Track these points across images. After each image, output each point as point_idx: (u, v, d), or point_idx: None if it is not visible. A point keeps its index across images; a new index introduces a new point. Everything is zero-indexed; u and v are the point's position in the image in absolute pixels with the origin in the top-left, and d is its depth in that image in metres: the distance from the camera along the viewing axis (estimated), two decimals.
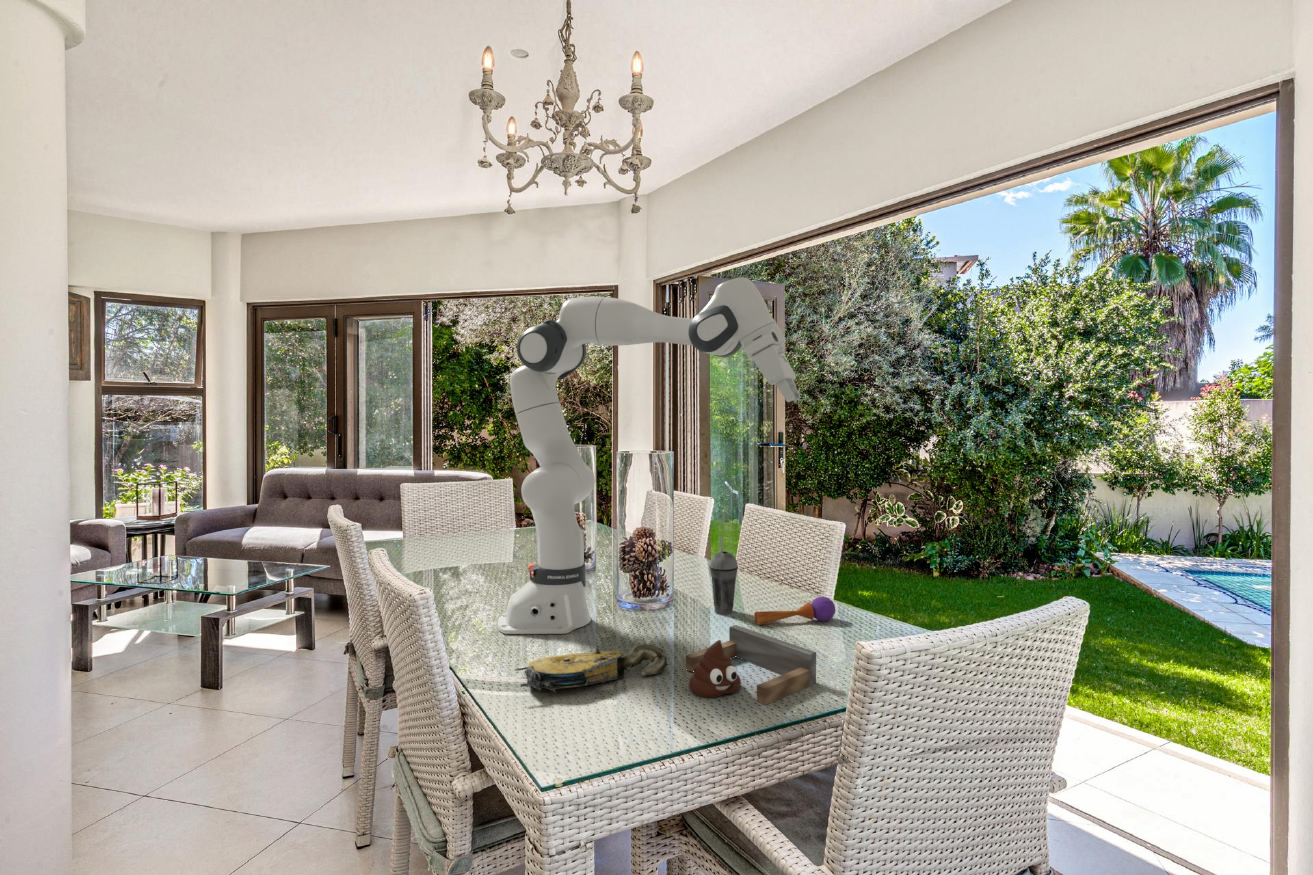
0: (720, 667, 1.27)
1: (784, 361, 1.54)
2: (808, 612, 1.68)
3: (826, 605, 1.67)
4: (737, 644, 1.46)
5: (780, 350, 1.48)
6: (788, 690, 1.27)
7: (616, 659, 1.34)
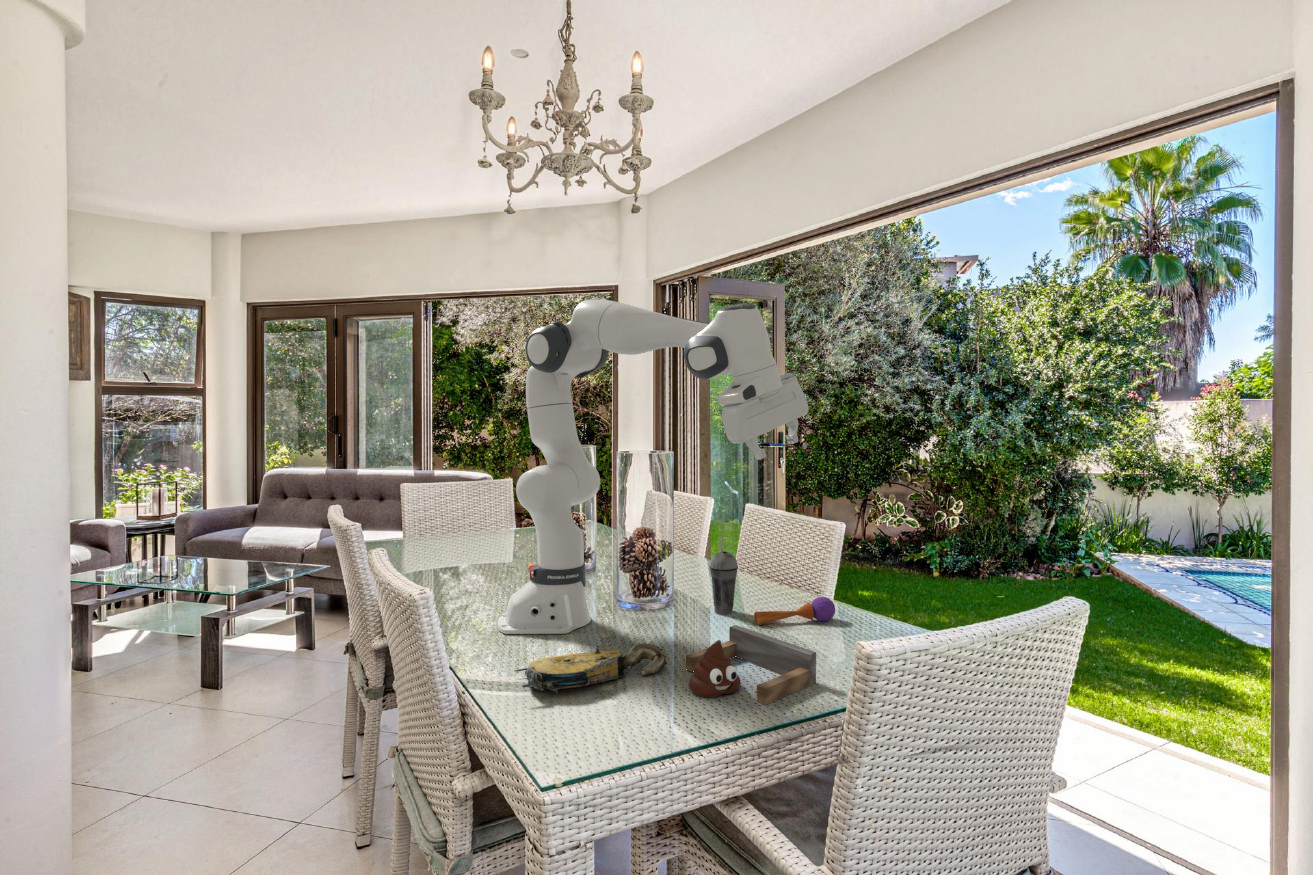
0: (720, 667, 1.27)
1: (787, 400, 1.38)
2: (808, 612, 1.68)
3: (826, 605, 1.67)
4: (737, 644, 1.46)
5: (765, 400, 1.33)
6: (788, 690, 1.27)
7: (617, 658, 1.34)
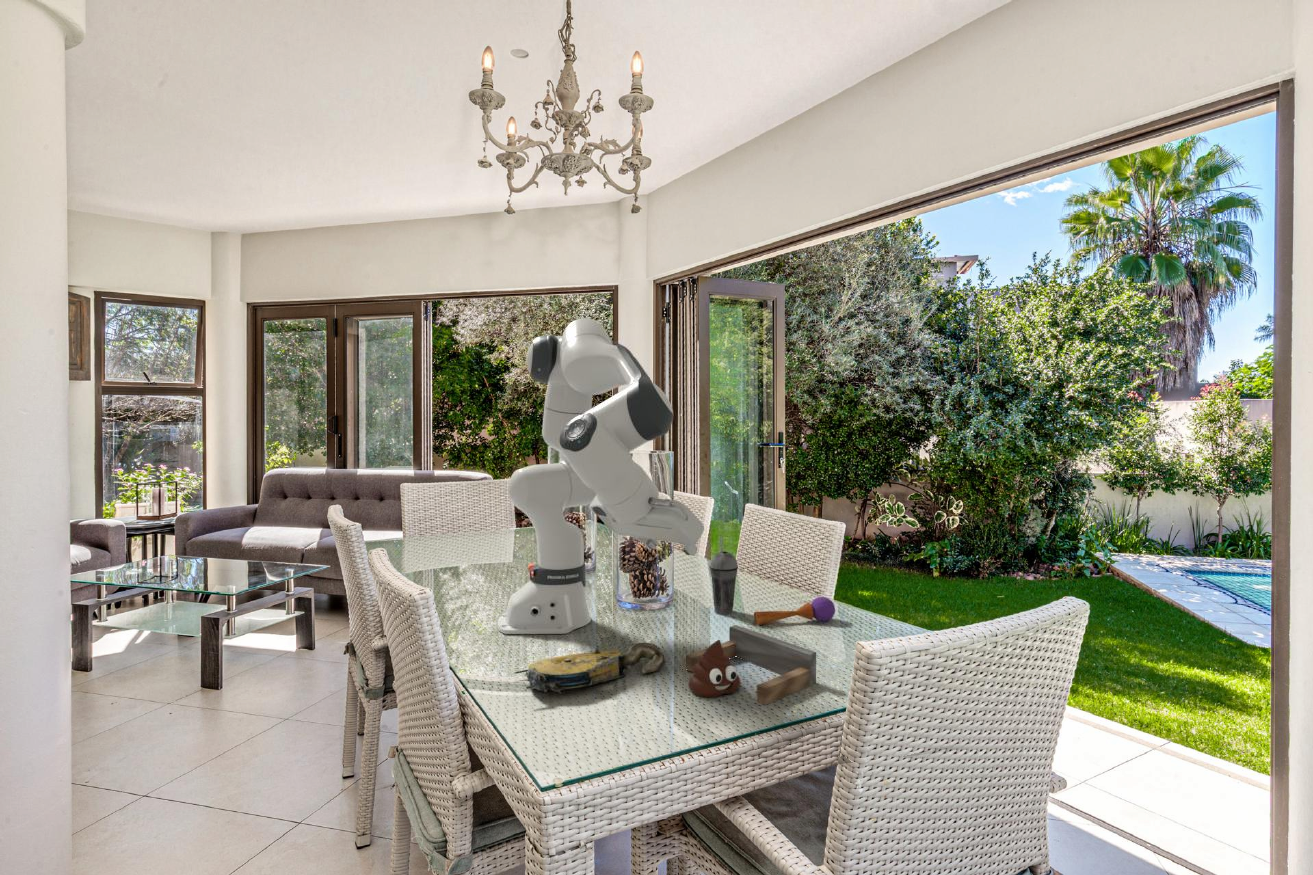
0: (719, 667, 1.27)
1: (662, 525, 1.12)
2: (807, 612, 1.67)
3: (826, 605, 1.67)
4: (737, 644, 1.46)
5: None
6: (788, 690, 1.27)
7: (617, 658, 1.34)
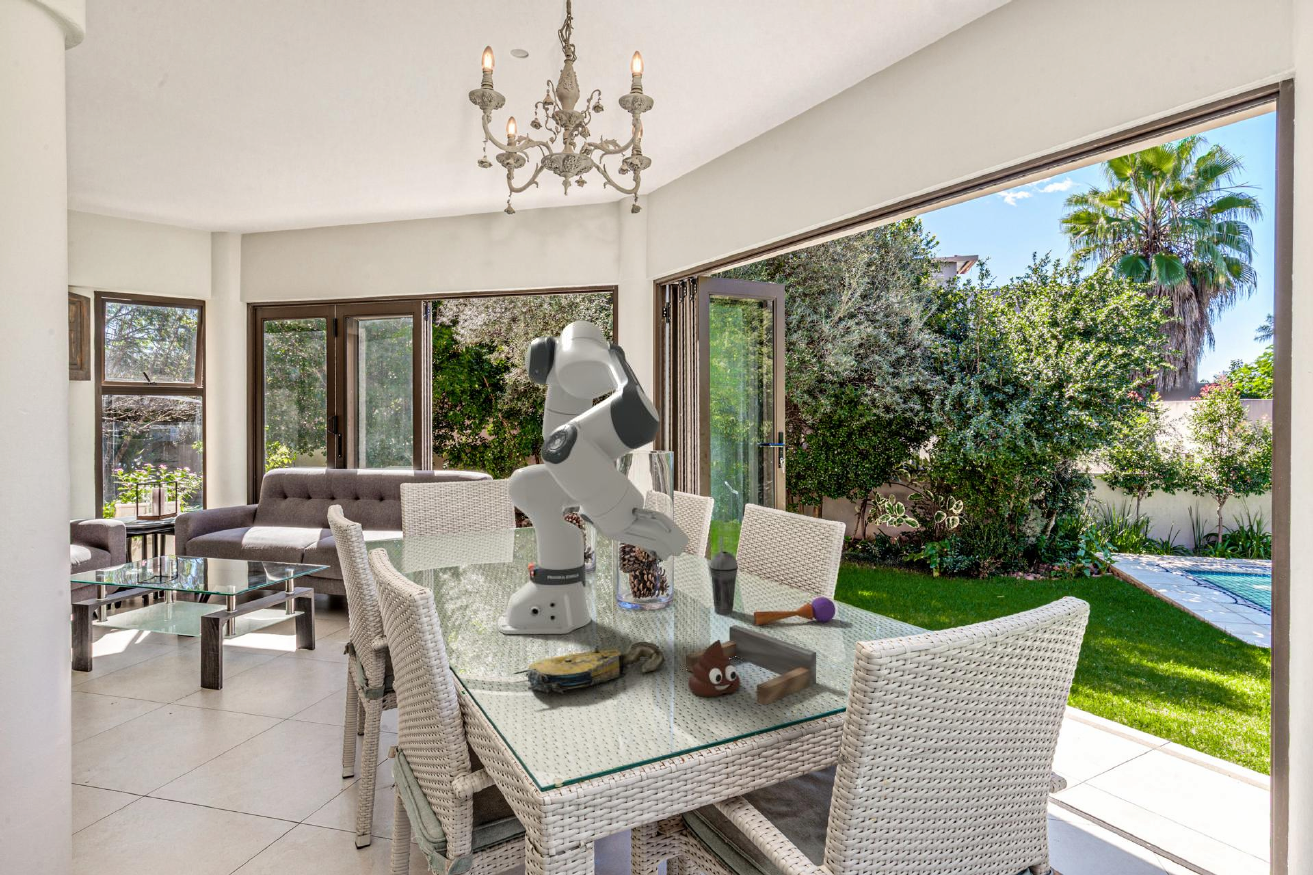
0: (719, 667, 1.28)
1: (646, 536, 1.11)
2: (807, 613, 1.67)
3: (826, 605, 1.67)
4: (737, 644, 1.46)
5: None
6: (788, 690, 1.27)
7: (618, 657, 1.35)
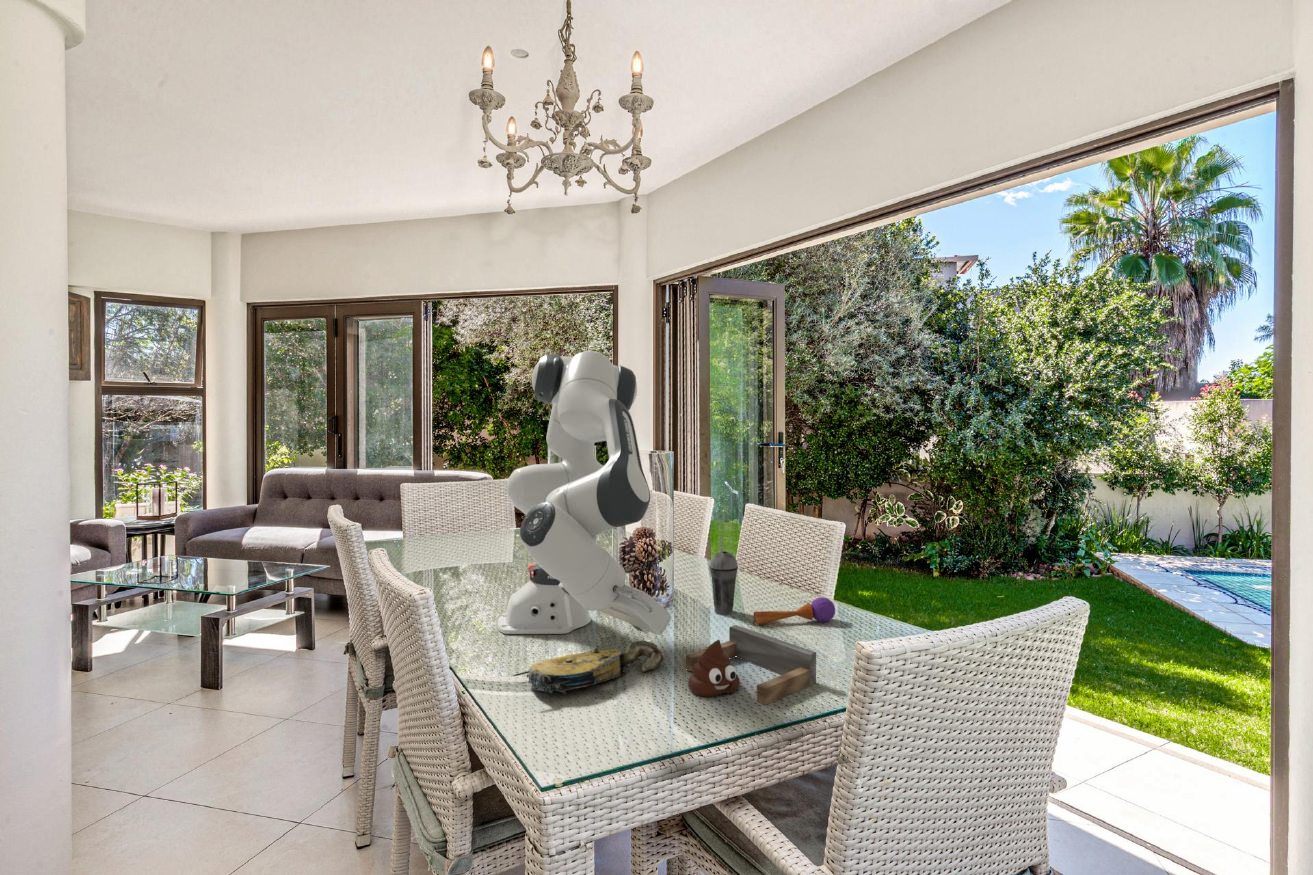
0: (719, 667, 1.28)
1: (628, 613, 1.09)
2: (807, 613, 1.67)
3: (826, 606, 1.67)
4: (737, 644, 1.46)
5: None
6: (788, 690, 1.27)
7: (618, 657, 1.35)
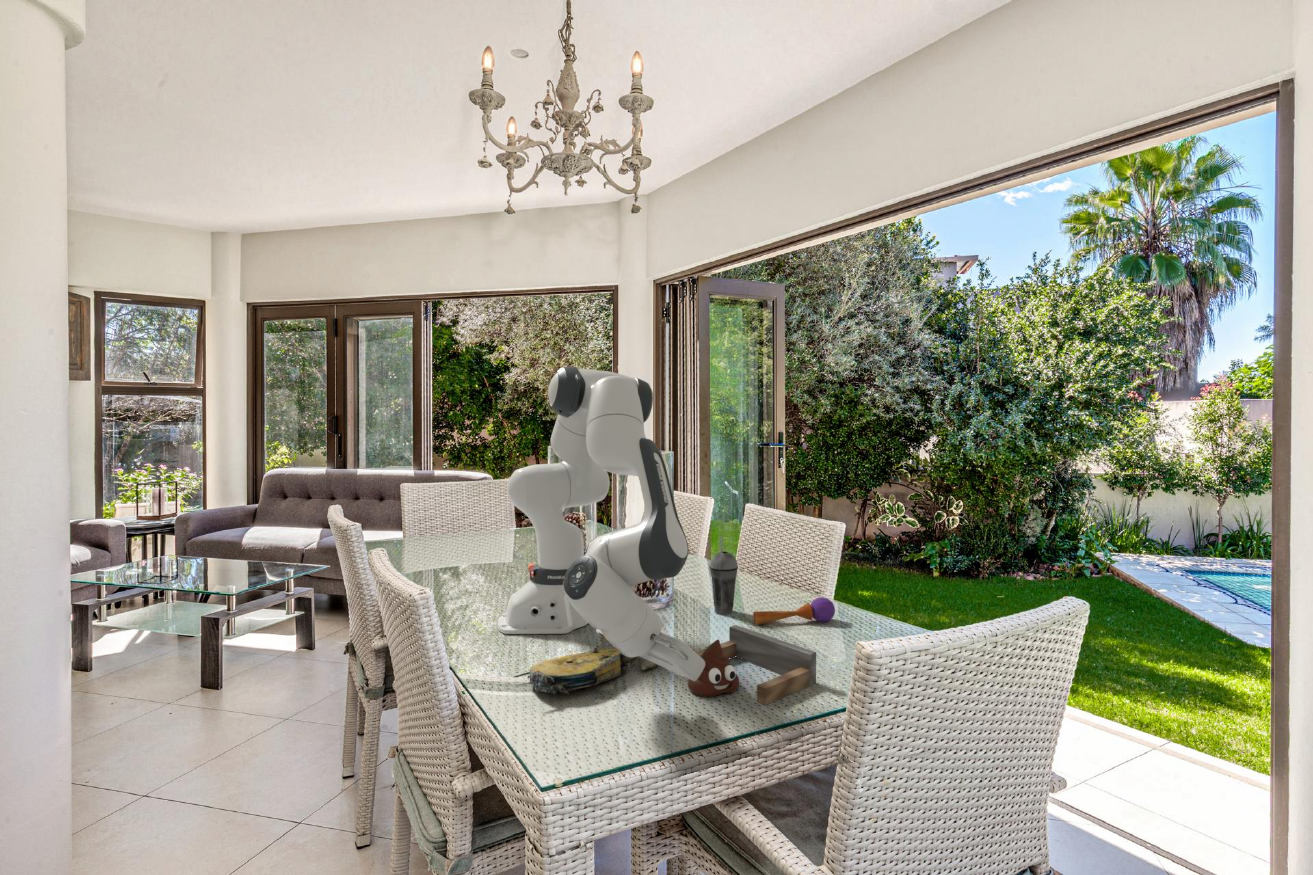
0: (719, 666, 1.28)
1: (664, 659, 1.15)
2: (807, 613, 1.67)
3: (825, 606, 1.67)
4: (737, 644, 1.46)
5: None
6: (788, 690, 1.27)
7: (619, 656, 1.35)
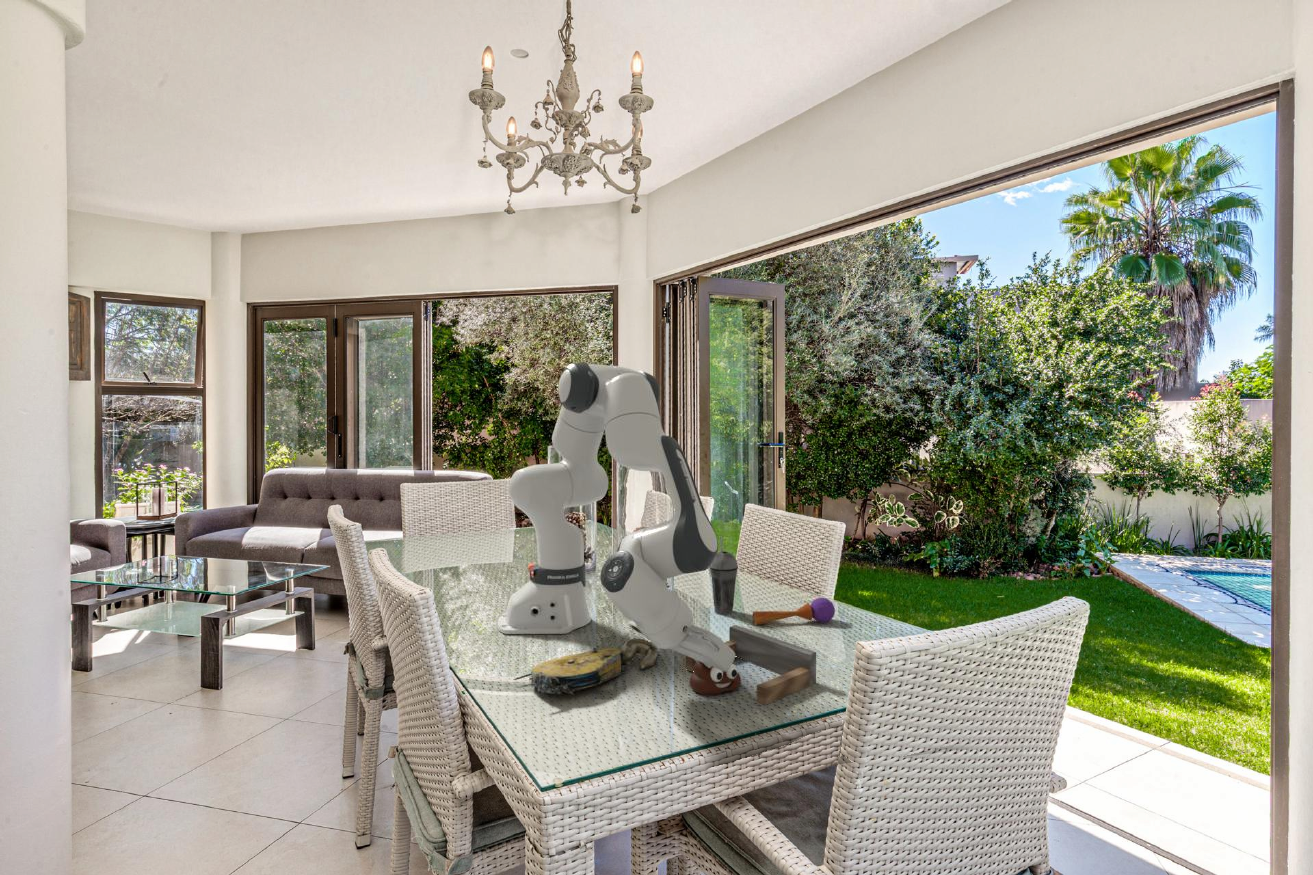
0: None
1: (695, 651, 1.19)
2: (806, 613, 1.67)
3: (825, 606, 1.66)
4: (737, 644, 1.46)
5: None
6: (788, 690, 1.27)
7: (619, 655, 1.36)
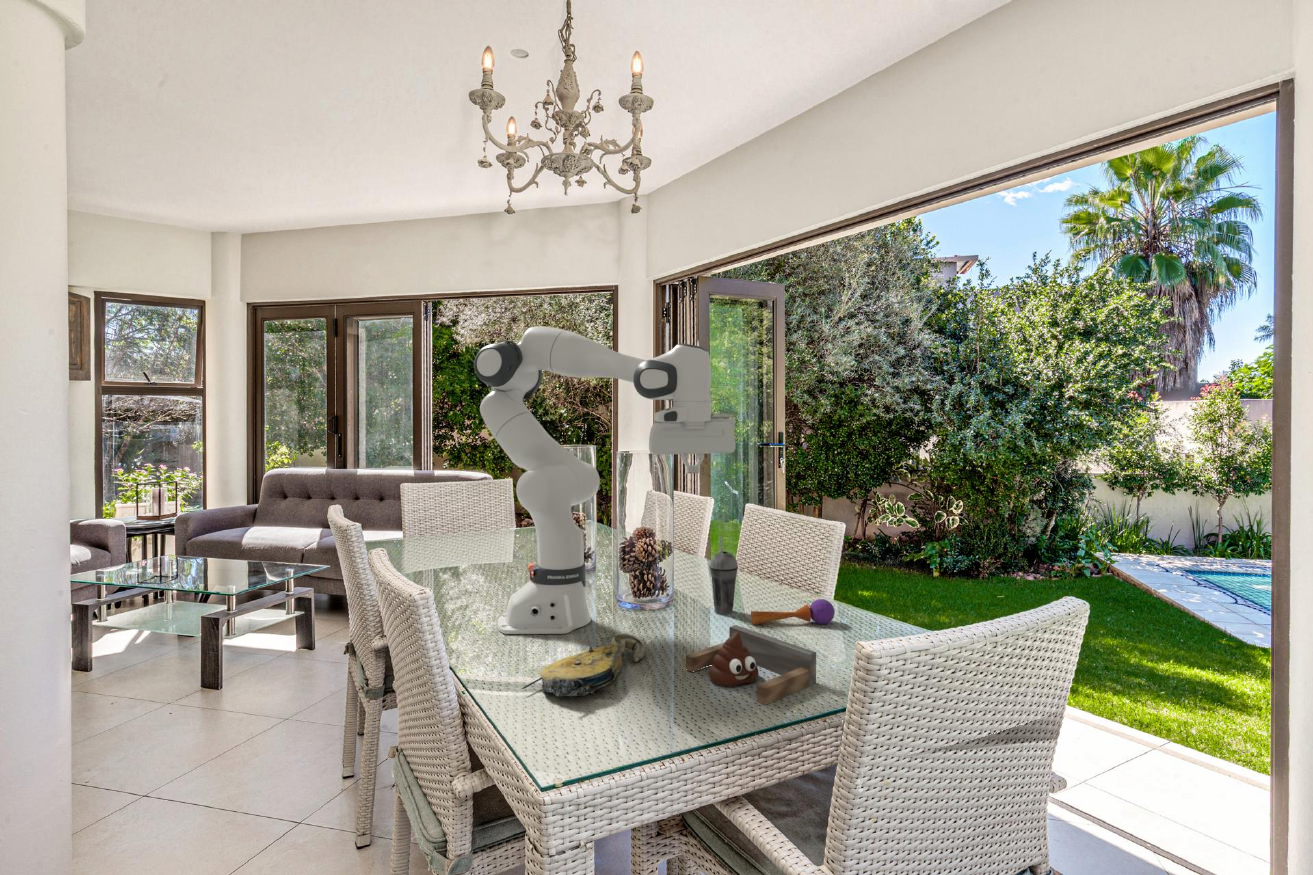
0: (739, 657, 1.32)
1: (714, 435, 1.60)
2: (805, 614, 1.66)
3: (824, 608, 1.65)
4: None
5: (687, 427, 1.58)
6: (788, 690, 1.27)
7: (619, 651, 1.38)
